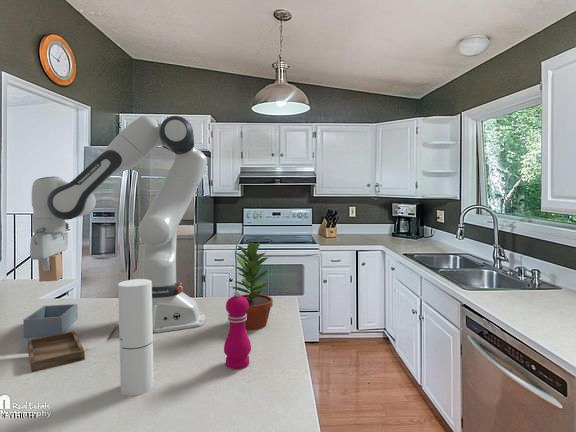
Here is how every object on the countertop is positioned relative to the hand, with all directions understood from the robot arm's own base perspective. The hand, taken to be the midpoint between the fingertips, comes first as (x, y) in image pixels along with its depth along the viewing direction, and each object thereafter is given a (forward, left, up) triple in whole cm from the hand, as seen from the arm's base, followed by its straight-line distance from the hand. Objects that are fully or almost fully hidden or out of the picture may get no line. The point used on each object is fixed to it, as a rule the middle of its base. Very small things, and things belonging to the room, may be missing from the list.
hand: (50, 268), depth 121 cm
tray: (-8, +20, -21) cm, 30 cm away
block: (0, 0, -4) cm, 4 cm away
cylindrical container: (-34, +44, -21) cm, 59 cm away
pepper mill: (-58, +37, -21) cm, 72 cm away
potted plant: (-65, +8, -21) cm, 69 cm away
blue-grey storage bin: (0, 0, -21) cm, 21 cm away
